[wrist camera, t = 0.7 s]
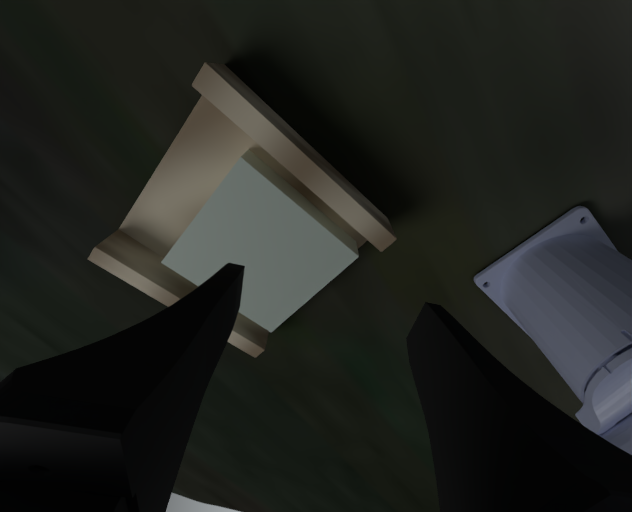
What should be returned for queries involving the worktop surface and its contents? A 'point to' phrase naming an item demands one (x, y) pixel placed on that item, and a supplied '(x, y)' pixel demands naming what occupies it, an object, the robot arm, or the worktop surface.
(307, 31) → the worktop surface
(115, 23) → the worktop surface
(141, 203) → the slide case
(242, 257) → the cover plate
